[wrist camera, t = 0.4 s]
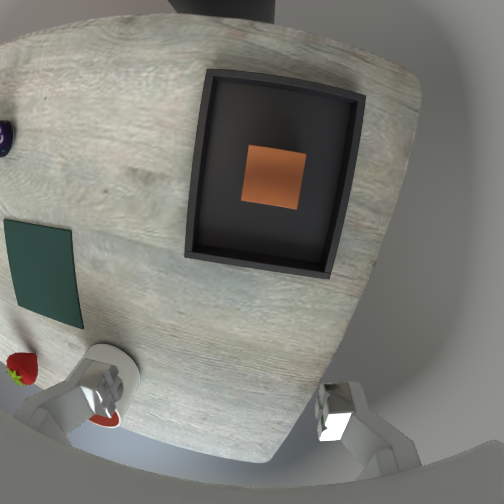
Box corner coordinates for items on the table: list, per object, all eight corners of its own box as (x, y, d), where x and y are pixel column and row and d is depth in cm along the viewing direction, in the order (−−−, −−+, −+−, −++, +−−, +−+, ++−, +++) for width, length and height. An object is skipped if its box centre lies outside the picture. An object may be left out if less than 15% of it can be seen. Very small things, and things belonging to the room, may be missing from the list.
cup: (147, 358, 39) (123, 405, 30) (138, 393, 43) (118, 436, 33) (91, 330, 38) (59, 369, 29) (88, 368, 42) (63, 406, 32)
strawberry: (20, 335, 41) (-7, 363, 32) (47, 353, 42) (20, 385, 32) (24, 354, 43) (-1, 381, 34) (49, 371, 44) (26, 402, 34)
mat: (4, 219, 33) (3, 219, 32) (71, 230, 33) (69, 231, 32) (19, 304, 38) (18, 305, 38) (84, 328, 38) (82, 329, 38)
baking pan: (212, 75, 26) (206, 68, 23) (357, 99, 26) (366, 95, 23) (190, 248, 33) (183, 257, 30) (324, 268, 33) (329, 280, 30)
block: (251, 145, 28) (248, 144, 23) (300, 153, 28) (306, 154, 23) (244, 192, 30) (240, 200, 25) (292, 199, 30) (296, 209, 25)
